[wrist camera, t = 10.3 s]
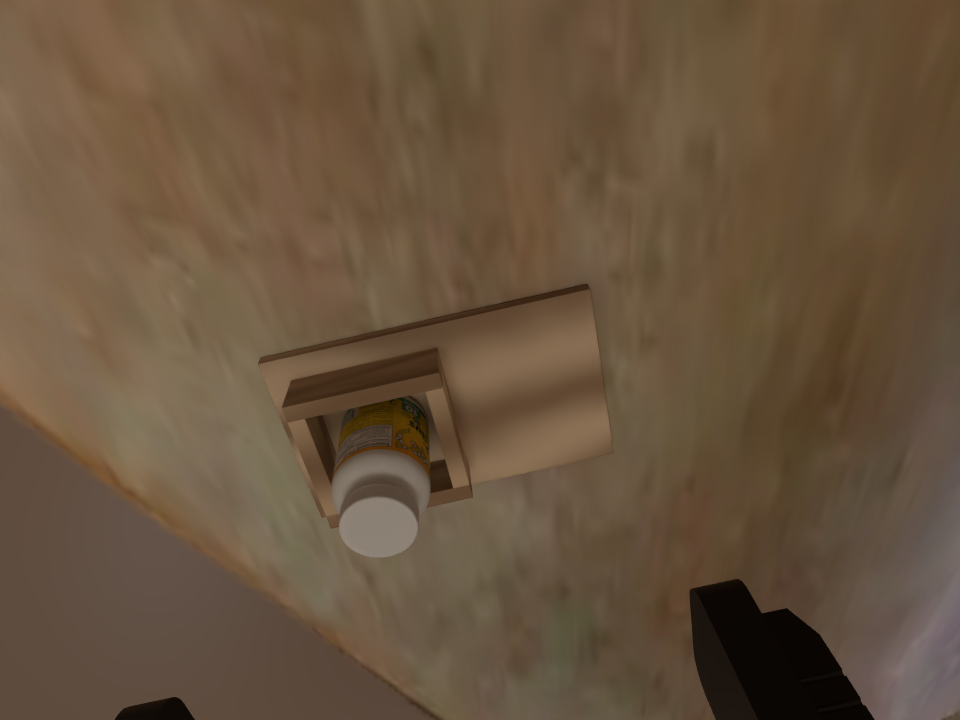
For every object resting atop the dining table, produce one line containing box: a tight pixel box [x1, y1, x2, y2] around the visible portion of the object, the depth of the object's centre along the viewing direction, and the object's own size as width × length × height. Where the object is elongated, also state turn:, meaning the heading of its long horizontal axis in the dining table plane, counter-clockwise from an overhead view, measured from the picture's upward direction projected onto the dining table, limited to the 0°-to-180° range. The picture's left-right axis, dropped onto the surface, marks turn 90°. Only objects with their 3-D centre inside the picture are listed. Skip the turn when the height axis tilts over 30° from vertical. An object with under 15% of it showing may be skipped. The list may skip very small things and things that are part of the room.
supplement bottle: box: [331, 396, 431, 558], centre depth 38 cm, size 5×5×10 cm
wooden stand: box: [258, 284, 613, 529], centre depth 41 cm, size 12×20×4 cm, turn 102°
